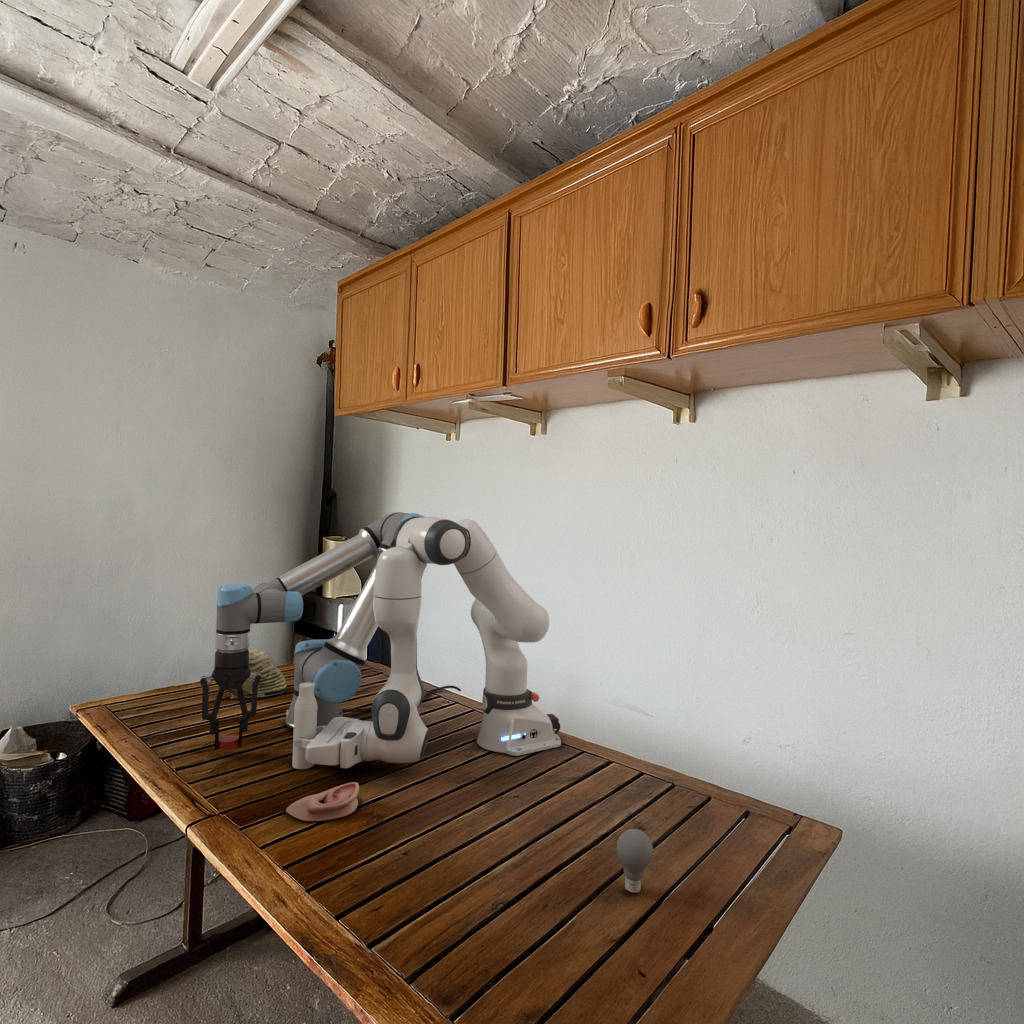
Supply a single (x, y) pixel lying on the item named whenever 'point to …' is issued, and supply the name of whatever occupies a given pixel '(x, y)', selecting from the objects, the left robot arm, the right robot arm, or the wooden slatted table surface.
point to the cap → (228, 742)
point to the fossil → (262, 676)
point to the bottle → (304, 723)
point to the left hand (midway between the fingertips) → (228, 746)
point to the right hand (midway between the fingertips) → (301, 736)
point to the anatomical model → (326, 804)
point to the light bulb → (634, 857)
